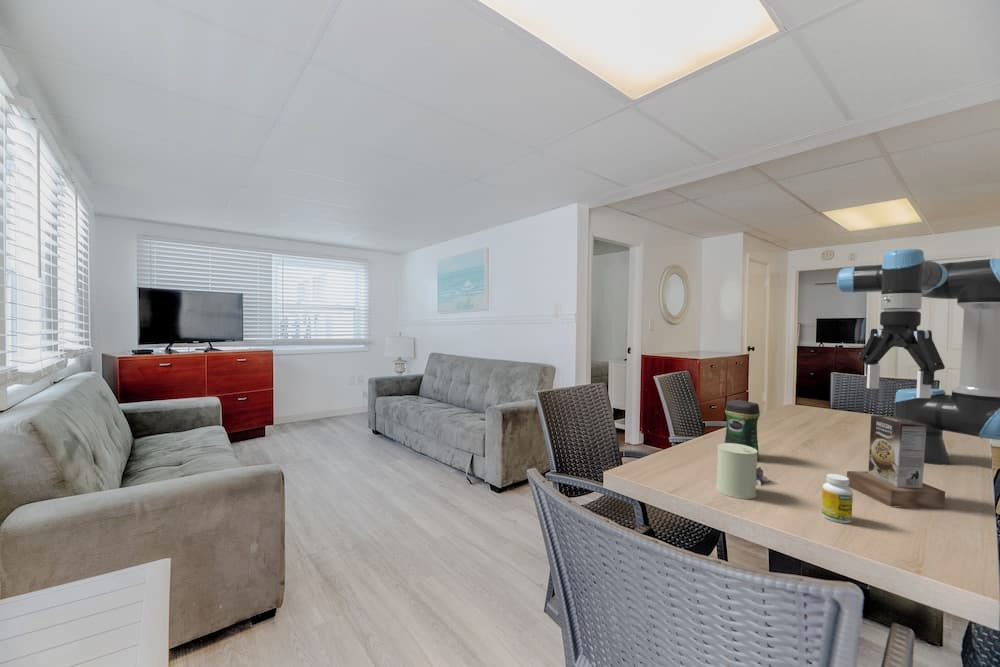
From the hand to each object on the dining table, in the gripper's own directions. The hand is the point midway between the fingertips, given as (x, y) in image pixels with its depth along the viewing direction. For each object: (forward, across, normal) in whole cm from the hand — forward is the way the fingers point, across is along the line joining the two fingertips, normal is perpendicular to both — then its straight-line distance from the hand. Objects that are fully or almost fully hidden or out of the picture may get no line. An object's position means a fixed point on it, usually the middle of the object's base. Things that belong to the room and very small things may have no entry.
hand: (896, 393), depth 107 cm
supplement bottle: (+27, +14, -26) cm, 40 cm away
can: (+27, 0, -41) cm, 49 cm away
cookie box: (+23, +1, 0) cm, 23 cm away
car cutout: (+27, -10, -27) cm, 40 cm away
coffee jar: (+27, -29, -22) cm, 46 cm away
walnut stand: (+27, +1, -1) cm, 27 cm away
